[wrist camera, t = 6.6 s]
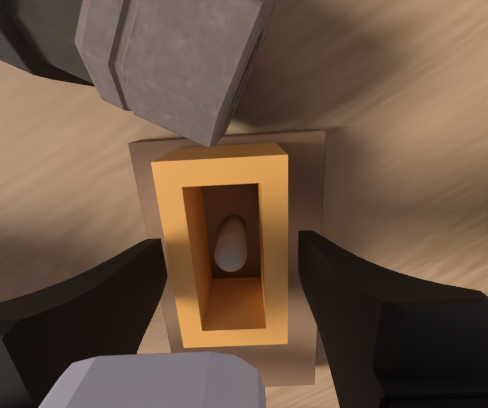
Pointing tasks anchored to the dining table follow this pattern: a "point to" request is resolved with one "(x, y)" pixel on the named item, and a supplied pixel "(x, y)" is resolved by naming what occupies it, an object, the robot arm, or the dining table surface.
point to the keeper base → (248, 243)
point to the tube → (144, 54)
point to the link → (197, 250)
